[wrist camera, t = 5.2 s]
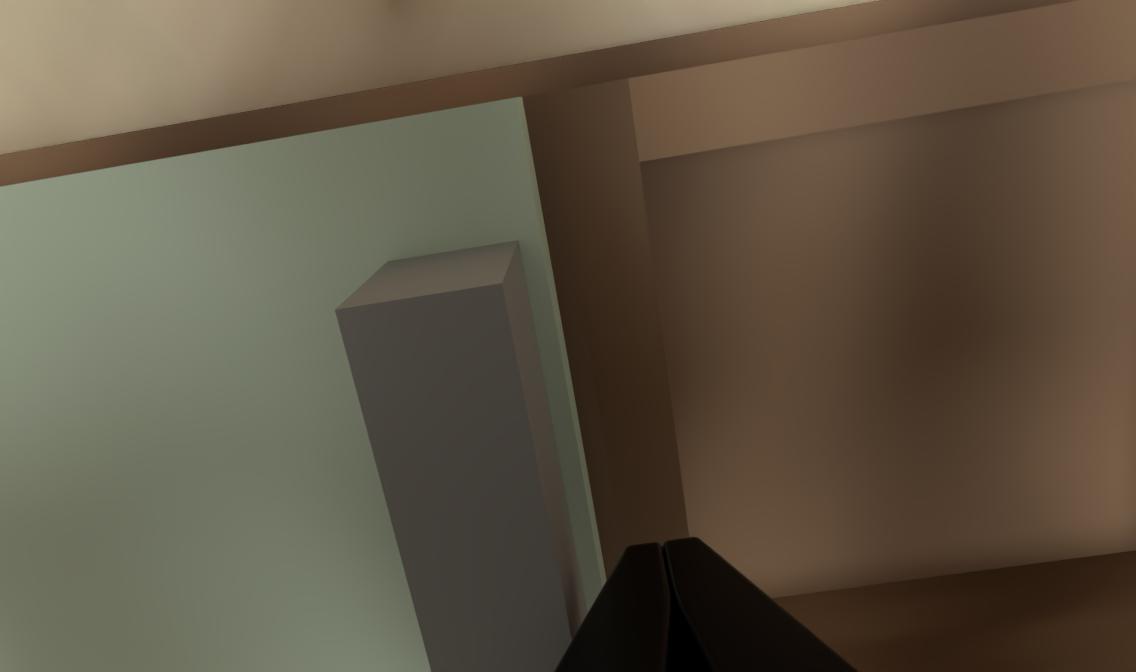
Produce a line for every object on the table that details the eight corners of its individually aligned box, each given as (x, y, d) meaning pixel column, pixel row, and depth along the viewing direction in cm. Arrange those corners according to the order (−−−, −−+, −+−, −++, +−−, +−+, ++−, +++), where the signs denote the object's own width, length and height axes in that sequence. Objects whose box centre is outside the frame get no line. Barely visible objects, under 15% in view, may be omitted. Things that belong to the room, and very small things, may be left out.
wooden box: (1256, -63, 12) (1561, -131, 9) (1195, 571, 16) (1389, 723, 12) (-88, 172, 14) (-344, 205, 10) (136, 709, 17) (11, 885, 13)
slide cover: (522, 97, 9) (496, 100, 6) (645, 803, 12) (666, 1017, 10) (-333, 245, 10) (-713, 309, 7) (0, 878, 13) (-162, 1100, 10)
